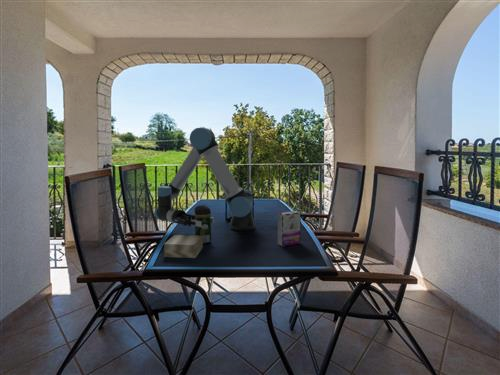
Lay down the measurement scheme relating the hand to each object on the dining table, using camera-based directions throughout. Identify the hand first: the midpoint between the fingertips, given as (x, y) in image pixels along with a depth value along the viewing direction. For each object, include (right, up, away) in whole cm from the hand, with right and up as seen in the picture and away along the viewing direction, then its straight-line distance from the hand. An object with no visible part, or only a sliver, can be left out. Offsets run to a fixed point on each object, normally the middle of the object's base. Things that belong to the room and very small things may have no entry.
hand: (207, 222), depth 156 cm
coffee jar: (-3, -10, +3) cm, 11 cm away
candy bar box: (+41, -11, 0) cm, 43 cm away
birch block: (-9, -13, -12) cm, 20 cm away
